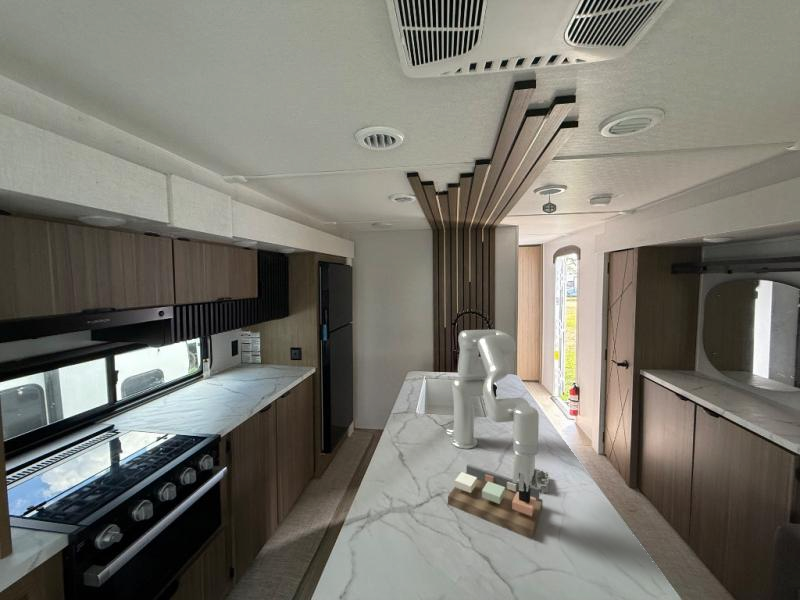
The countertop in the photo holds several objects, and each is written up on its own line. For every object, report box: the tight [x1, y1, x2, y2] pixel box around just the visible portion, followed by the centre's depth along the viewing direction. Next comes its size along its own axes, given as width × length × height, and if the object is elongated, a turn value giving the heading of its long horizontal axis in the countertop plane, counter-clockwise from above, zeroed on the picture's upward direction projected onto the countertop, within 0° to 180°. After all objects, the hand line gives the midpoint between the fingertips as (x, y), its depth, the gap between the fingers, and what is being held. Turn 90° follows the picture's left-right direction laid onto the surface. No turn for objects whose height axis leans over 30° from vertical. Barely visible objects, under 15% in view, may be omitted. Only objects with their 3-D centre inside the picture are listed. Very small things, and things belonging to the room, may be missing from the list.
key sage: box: [482, 481, 505, 504], centre depth 111 cm, size 6×6×2 cm
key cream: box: [454, 471, 477, 493], centre depth 116 cm, size 6×6×2 cm
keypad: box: [447, 464, 544, 540], centre depth 112 cm, size 28×16×7 cm, turn 56°
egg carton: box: [530, 468, 550, 494], centre depth 124 cm, size 11×8×4 cm
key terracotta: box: [512, 492, 536, 516], centre depth 105 cm, size 6×6×2 cm
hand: (524, 500), depth 105 cm, fingers closed
